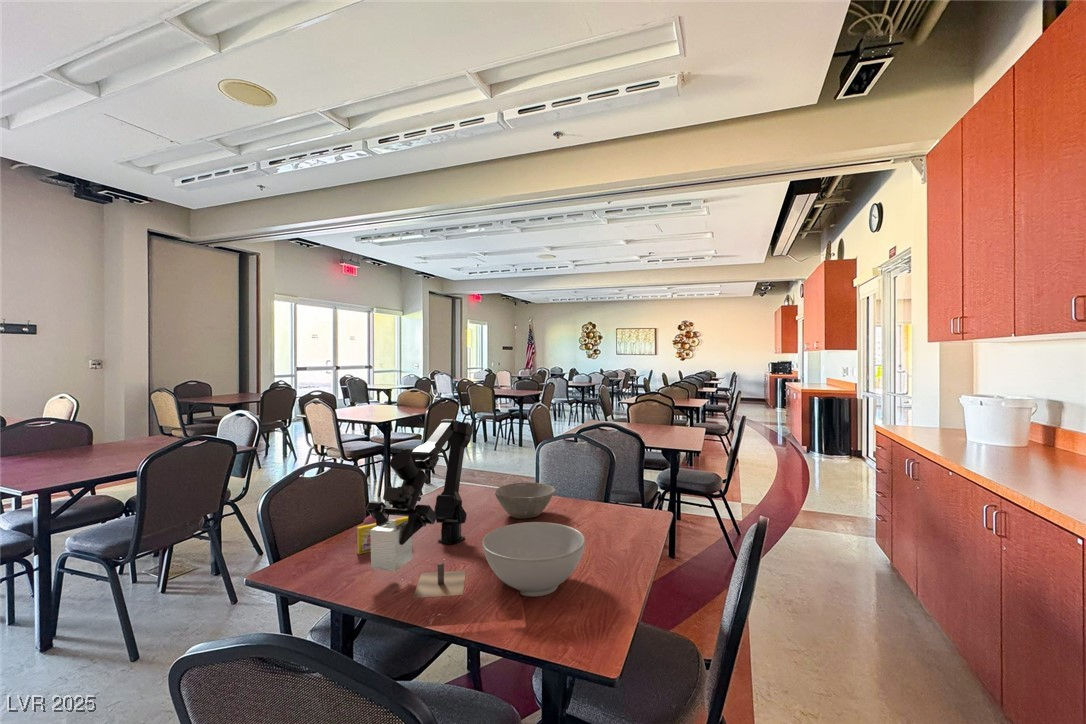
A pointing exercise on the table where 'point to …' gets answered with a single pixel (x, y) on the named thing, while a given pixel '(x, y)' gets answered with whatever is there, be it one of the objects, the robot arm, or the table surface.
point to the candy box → (365, 537)
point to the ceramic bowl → (524, 498)
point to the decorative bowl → (534, 555)
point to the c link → (389, 546)
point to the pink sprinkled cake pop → (369, 520)
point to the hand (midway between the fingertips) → (388, 543)
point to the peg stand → (440, 583)
